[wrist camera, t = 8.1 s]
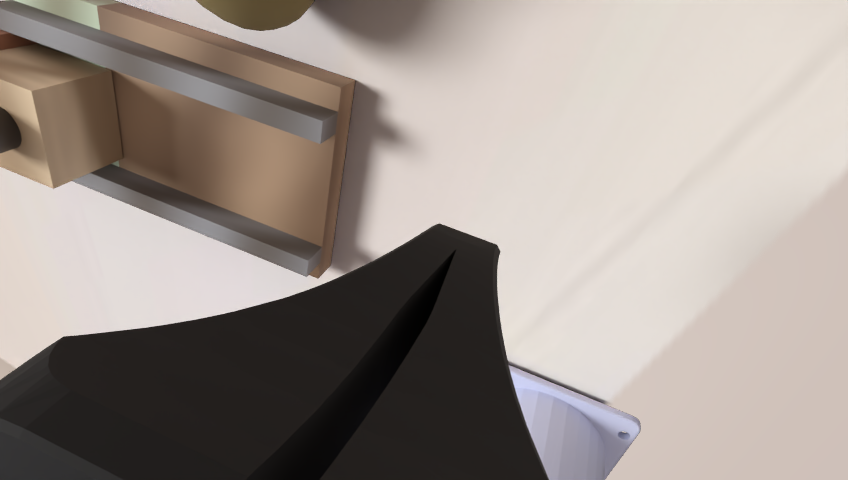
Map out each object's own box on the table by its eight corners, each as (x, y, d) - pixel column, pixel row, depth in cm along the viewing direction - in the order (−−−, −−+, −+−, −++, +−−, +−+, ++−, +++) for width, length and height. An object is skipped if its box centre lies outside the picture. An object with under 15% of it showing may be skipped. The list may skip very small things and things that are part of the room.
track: (355, 80, 20) (284, 117, 16) (330, 265, 25) (272, 328, 21) (26, -29, 22) (-107, -21, 18) (65, 158, 28) (-33, 197, 24)
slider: (111, 70, 22) (-13, 102, 18) (123, 158, 24) (15, 204, 20) (36, 43, 23) (-101, 68, 18) (55, 131, 25) (-63, 171, 21)
